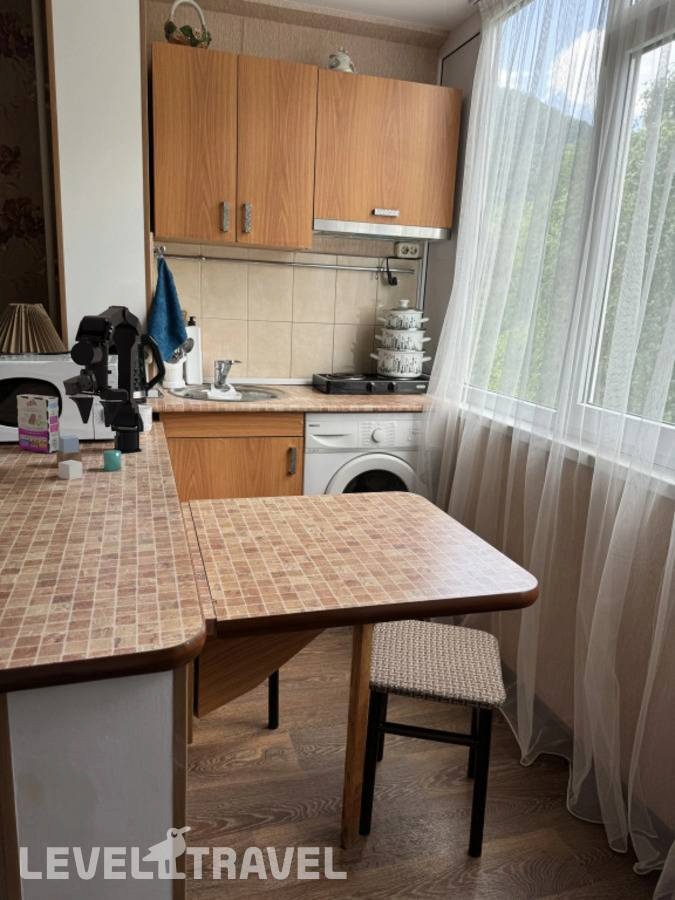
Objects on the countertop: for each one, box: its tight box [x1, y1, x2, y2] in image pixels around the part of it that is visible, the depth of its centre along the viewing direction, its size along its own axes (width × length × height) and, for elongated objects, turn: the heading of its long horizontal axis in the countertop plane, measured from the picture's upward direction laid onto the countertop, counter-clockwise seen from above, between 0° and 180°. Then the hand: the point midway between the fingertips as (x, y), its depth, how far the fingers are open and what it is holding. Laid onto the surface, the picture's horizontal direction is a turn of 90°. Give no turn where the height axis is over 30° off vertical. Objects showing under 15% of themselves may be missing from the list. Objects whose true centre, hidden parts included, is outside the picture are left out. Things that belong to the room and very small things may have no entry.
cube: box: [57, 460, 83, 481], centre depth 166 cm, size 4×4×4 cm
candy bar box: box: [16, 393, 61, 454], centre depth 190 cm, size 11×5×16 cm, turn 73°
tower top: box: [58, 434, 80, 453], centre depth 176 cm, size 4×4×4 cm
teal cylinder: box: [103, 449, 122, 473], centre depth 175 cm, size 4×4×5 cm
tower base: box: [55, 450, 83, 466], centre depth 177 cm, size 5×5×4 cm
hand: (96, 425), depth 168 cm, fingers open, 9 cm apart
